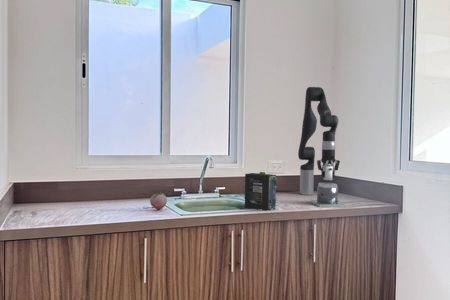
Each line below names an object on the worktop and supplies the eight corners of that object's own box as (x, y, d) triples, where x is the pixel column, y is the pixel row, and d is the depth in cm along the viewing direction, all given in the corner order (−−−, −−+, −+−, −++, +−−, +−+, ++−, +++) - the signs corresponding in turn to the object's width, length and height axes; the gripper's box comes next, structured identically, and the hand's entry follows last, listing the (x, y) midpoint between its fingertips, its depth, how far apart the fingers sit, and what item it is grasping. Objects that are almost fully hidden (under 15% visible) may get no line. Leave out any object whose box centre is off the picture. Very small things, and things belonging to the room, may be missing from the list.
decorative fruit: (156, 208, 208) (156, 189, 207) (169, 209, 204) (169, 190, 204) (146, 211, 199) (146, 192, 199) (159, 212, 196) (160, 193, 195)
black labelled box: (270, 211, 203) (271, 173, 202) (242, 207, 214) (243, 171, 213) (277, 209, 210) (278, 172, 209) (250, 205, 221) (250, 170, 220)
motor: (309, 202, 233) (309, 182, 232) (334, 202, 235) (334, 181, 235) (319, 207, 217) (320, 185, 217) (346, 206, 219) (346, 185, 219)
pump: (322, 179, 228) (322, 163, 227) (330, 179, 228) (330, 163, 228) (326, 180, 221) (327, 164, 221) (334, 180, 222) (335, 164, 221)
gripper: (337, 148, 230) (336, 176, 230) (314, 148, 228) (314, 176, 228) (342, 149, 222) (342, 178, 223) (319, 148, 220) (318, 178, 221)
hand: (327, 177), depth 225 cm, fingers closed on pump, 5 cm apart
